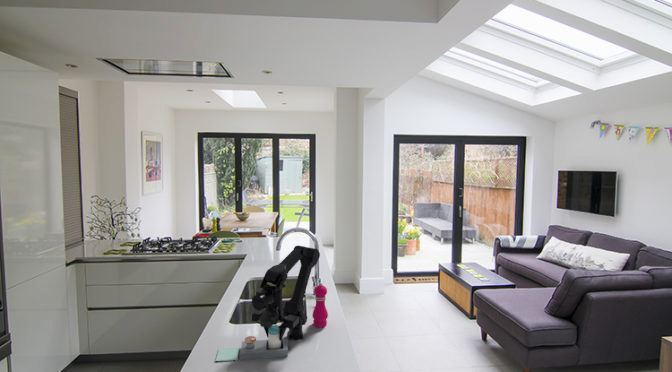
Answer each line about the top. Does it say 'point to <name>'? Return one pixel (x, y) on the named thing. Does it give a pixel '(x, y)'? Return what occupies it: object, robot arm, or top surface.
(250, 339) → the plunger
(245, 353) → the housing
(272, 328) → the cylinder
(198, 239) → the top surface
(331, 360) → the top surface
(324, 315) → the pepper mill
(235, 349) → the mat
